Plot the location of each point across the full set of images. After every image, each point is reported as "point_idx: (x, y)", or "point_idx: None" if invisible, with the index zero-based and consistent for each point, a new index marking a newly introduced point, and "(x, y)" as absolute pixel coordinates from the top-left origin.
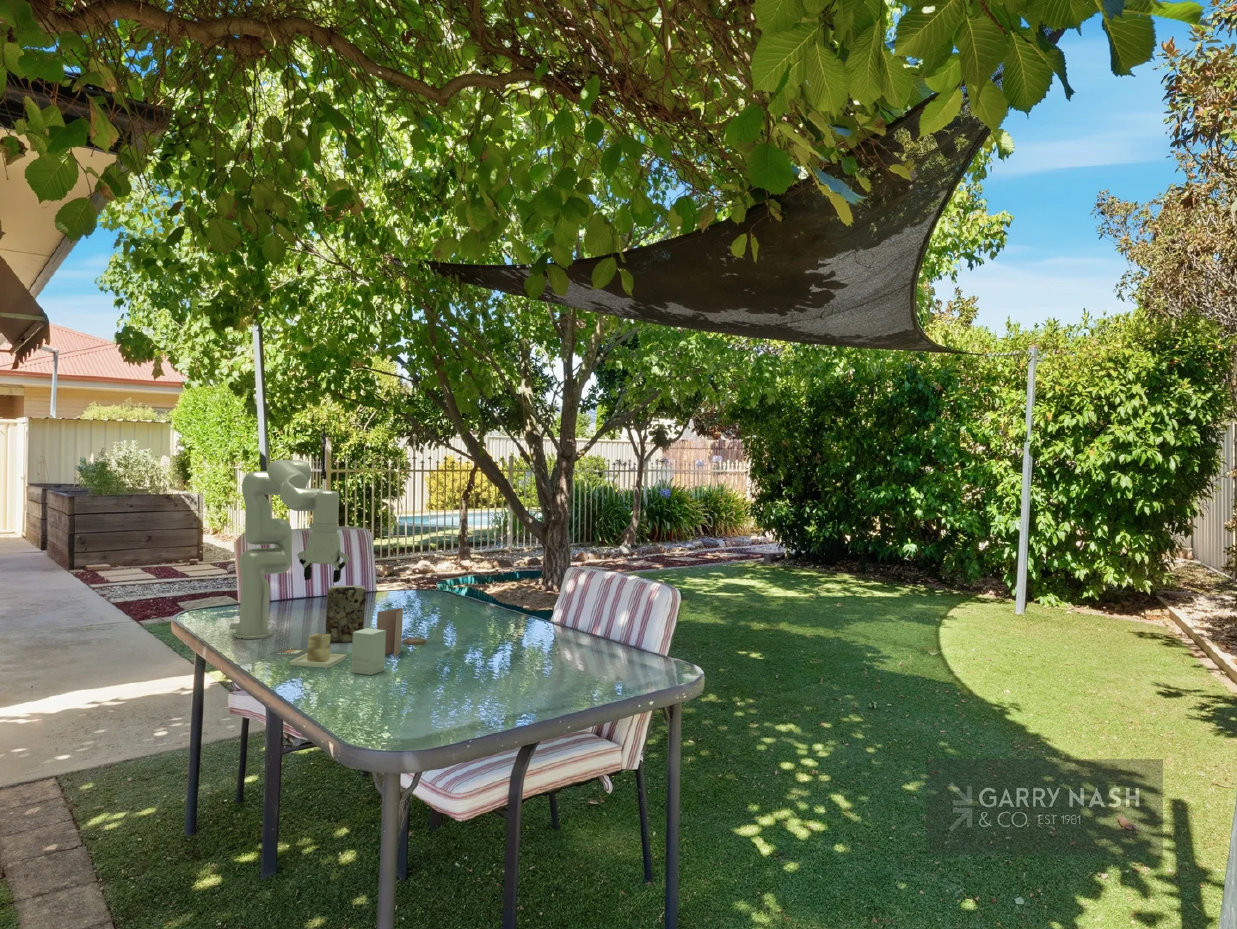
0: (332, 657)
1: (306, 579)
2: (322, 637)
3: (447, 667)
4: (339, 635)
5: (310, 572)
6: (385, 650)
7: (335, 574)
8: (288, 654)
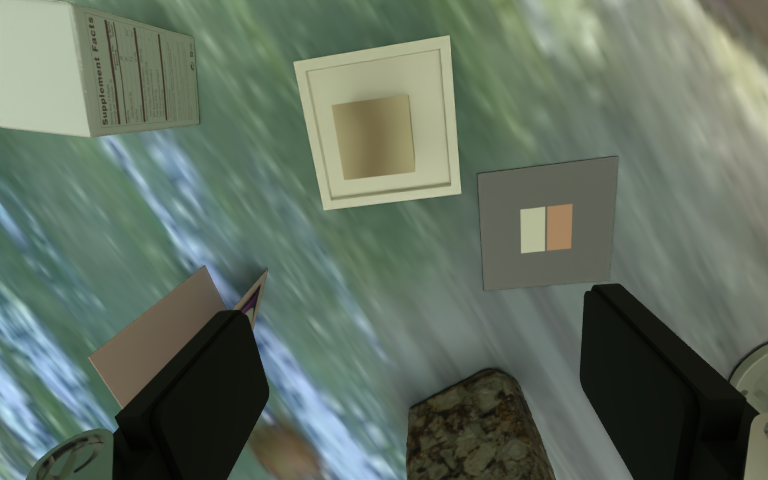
0: (365, 189)
1: (591, 289)
2: (337, 104)
3: (8, 225)
4: (470, 397)
5: (621, 430)
6: (254, 308)
7: (163, 370)
8: (539, 185)
